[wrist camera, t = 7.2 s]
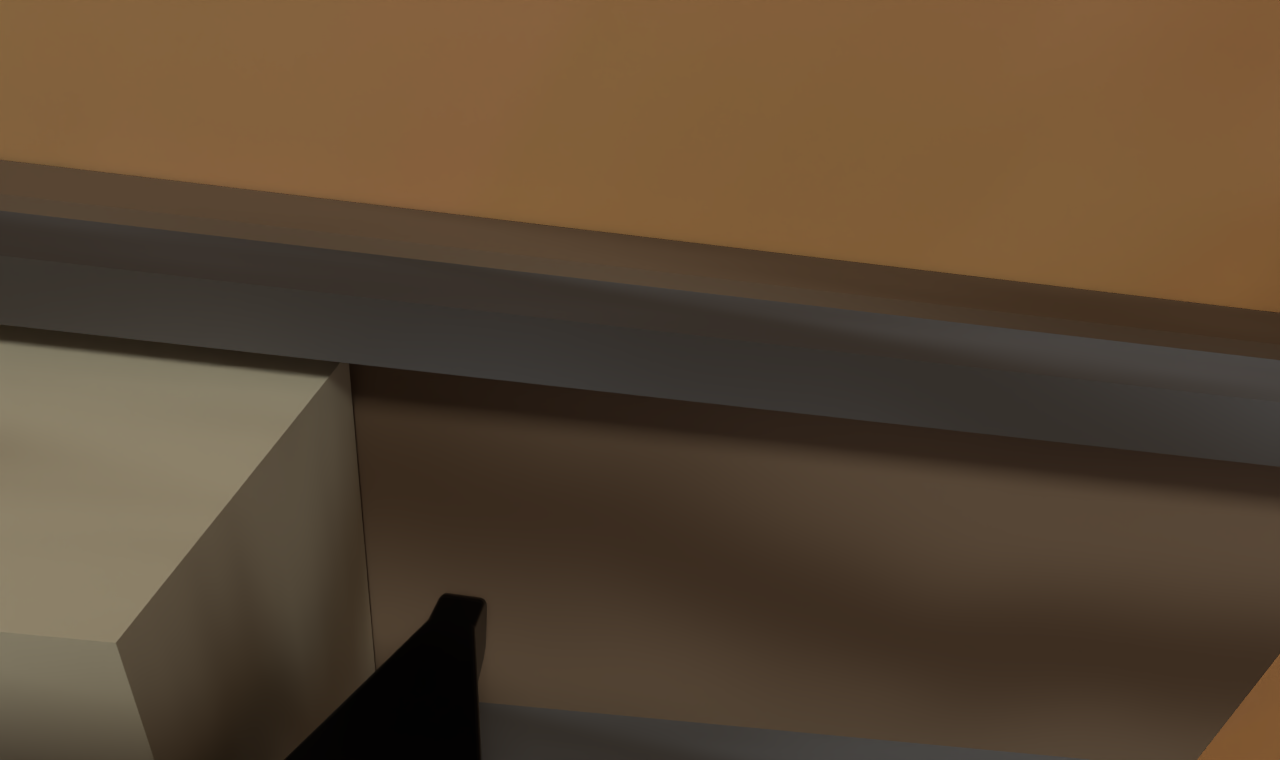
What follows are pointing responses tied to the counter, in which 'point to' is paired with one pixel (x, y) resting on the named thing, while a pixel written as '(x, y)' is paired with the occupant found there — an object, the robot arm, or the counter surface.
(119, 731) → the block
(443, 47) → the counter surface
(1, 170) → the track
